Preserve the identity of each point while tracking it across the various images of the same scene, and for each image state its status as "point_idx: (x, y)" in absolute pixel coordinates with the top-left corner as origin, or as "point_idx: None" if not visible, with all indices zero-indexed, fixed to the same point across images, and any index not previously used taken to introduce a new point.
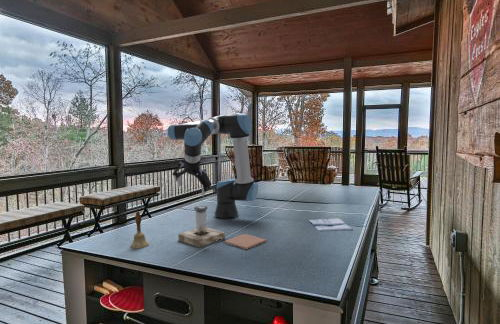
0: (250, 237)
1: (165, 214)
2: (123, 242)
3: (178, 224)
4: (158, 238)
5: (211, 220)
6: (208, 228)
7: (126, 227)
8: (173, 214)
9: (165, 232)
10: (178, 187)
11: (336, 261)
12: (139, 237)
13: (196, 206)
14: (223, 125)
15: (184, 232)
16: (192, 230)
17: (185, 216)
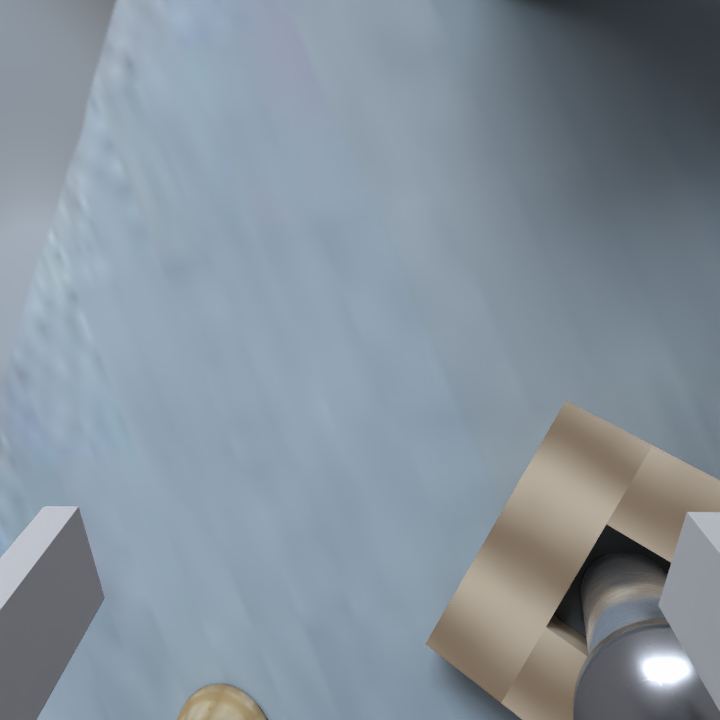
0: None
1: (110, 52)
2: (112, 682)
3: (279, 245)
4: (278, 592)
5: (493, 68)
6: (641, 453)
7: (15, 381)
8: (156, 31)
9: (269, 449)
10: (94, 602)
11: None
12: None
13: (589, 687)
14: None
15: (459, 596)
16: (507, 531)
17: (250, 44)
